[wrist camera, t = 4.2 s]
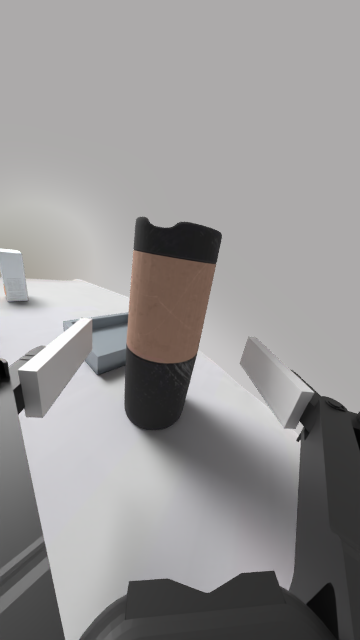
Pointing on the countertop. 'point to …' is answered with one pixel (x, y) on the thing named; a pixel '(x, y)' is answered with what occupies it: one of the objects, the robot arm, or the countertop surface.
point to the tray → (106, 341)
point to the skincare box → (13, 275)
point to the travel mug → (166, 317)
